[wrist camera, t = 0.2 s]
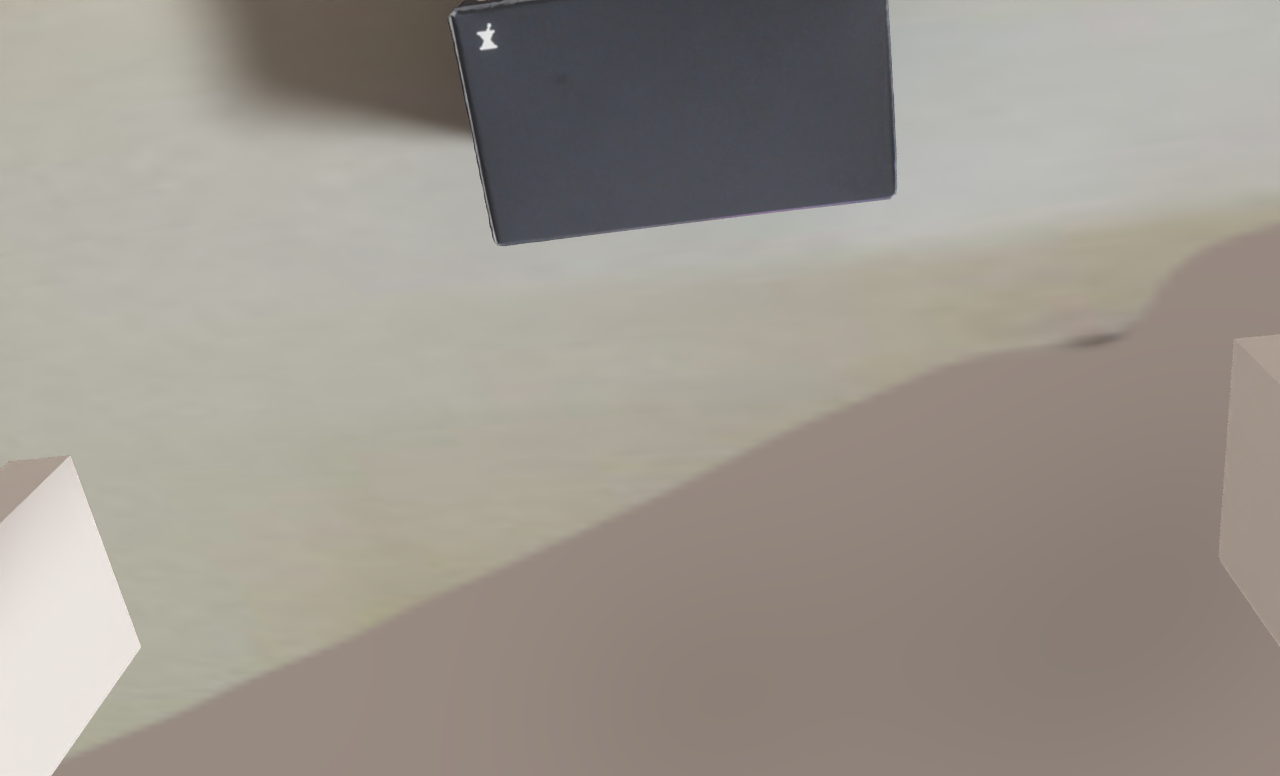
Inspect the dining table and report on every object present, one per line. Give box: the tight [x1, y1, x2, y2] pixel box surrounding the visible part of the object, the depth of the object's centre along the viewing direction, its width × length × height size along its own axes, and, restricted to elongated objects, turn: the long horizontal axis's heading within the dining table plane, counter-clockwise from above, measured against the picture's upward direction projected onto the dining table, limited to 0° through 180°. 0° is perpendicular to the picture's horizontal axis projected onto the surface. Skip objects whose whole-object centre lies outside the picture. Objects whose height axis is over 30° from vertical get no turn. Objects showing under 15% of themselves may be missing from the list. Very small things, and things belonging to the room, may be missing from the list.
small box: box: [448, 0, 897, 246], centre depth 34 cm, size 11×6×10 cm, turn 98°
